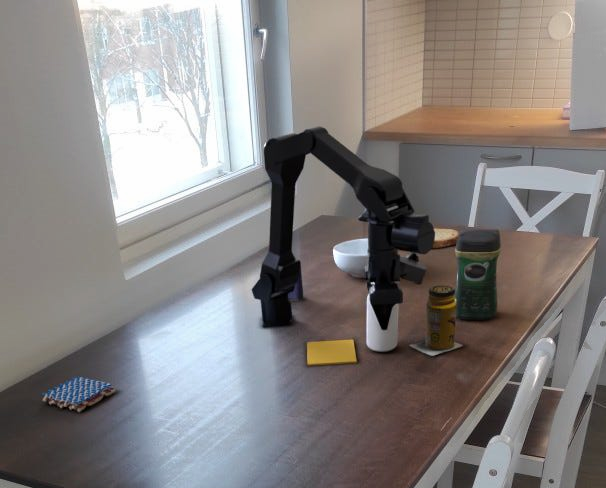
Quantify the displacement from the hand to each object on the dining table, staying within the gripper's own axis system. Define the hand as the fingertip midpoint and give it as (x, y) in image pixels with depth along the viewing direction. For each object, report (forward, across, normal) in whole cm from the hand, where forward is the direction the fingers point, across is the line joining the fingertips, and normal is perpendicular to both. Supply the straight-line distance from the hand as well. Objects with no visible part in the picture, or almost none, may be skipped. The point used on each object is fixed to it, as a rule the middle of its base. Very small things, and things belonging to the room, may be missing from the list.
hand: (382, 324), depth 166 cm
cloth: (+6, 0, +11) cm, 12 cm away
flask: (+6, +37, +21) cm, 43 cm away
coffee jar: (+6, +17, -22) cm, 28 cm away
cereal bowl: (+6, +53, 0) cm, 53 cm away
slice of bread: (+6, +78, -18) cm, 80 cm away
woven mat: (+6, -15, +61) cm, 63 cm away
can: (+5, +1, 0) cm, 5 cm away
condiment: (+6, 0, -11) cm, 12 cm away
